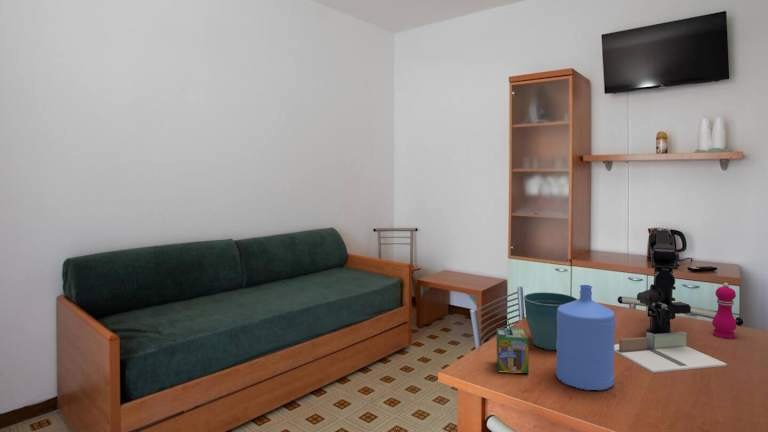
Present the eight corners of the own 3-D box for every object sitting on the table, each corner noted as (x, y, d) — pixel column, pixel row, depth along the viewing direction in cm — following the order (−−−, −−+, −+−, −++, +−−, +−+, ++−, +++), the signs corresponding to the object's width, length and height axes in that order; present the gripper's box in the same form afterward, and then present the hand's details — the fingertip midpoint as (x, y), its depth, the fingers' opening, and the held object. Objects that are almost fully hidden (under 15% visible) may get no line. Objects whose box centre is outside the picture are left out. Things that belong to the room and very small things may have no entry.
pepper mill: (731, 333, 170) (733, 281, 169) (739, 340, 163) (741, 285, 162) (708, 331, 172) (710, 280, 171) (715, 338, 166) (718, 284, 164)
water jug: (611, 397, 123) (613, 295, 120) (550, 384, 131) (551, 288, 129) (616, 375, 136) (618, 283, 134) (561, 365, 144) (562, 278, 142)
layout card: (606, 346, 159) (606, 330, 158) (671, 341, 163) (671, 325, 163) (653, 372, 137) (653, 353, 137) (727, 365, 141) (727, 347, 141)
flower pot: (513, 339, 167) (513, 294, 166) (553, 333, 173) (554, 290, 172) (544, 357, 150) (545, 307, 149) (588, 350, 156) (589, 301, 155)
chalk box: (528, 375, 137) (529, 327, 136) (497, 373, 139) (497, 326, 137) (525, 363, 146) (525, 318, 145) (495, 361, 148) (496, 317, 146)
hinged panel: (654, 348, 154) (655, 335, 154) (651, 346, 156) (651, 334, 155) (686, 345, 156) (687, 333, 156) (682, 344, 158) (683, 331, 158)
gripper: (624, 278, 167) (623, 319, 169) (663, 290, 149) (662, 336, 150) (651, 276, 169) (649, 317, 171) (693, 288, 151) (691, 334, 152)
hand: (661, 325), depth 161 cm, fingers closed
